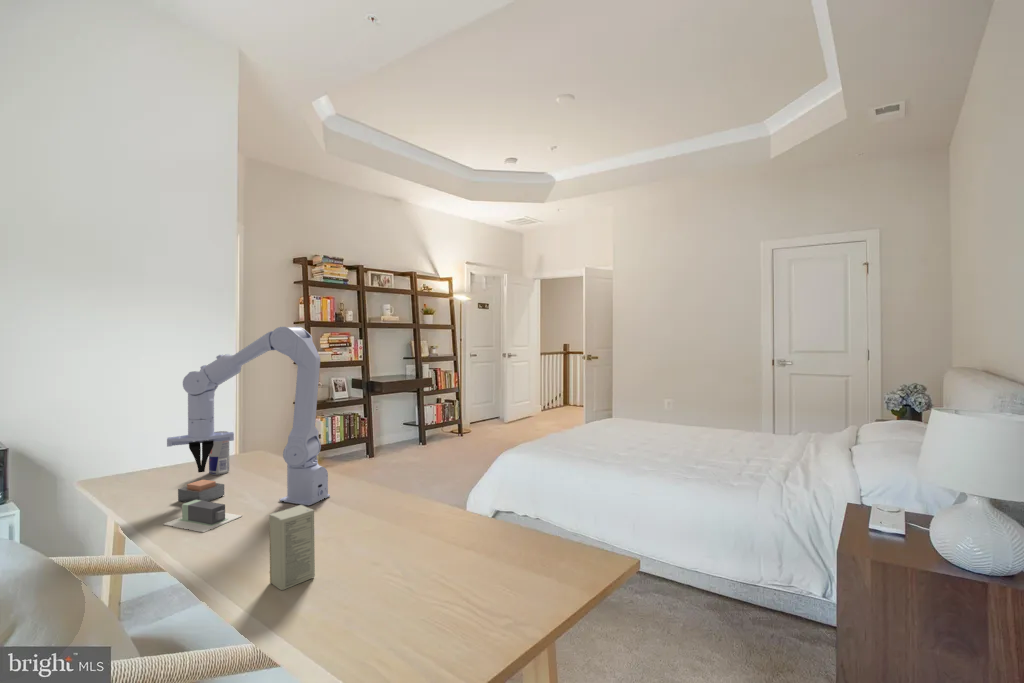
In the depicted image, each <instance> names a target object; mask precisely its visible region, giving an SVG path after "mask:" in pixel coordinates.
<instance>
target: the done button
mask: <svg viewBox="0 0 1024 683" xmlns="http://www.w3.org/2000/svg"><path fill="white" fill-rule="evenodd" d="M216 483H217V482H216V480H210V479H209V480H208V479H201V480H200V479H199V480H197V481H194V482H190V483H187V484H186V487H187V489H192V490H198V491H201V490H204V489H207V488H210V487H213V486H216Z"/></svg>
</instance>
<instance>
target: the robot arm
mask: <svg viewBox="0 0 1024 683" xmlns="http://www.w3.org/2000/svg"><path fill="white" fill-rule="evenodd" d="M269 351H271V352H272V351H277V352H278V353H281V354H282V355H285V356H287V357H288V358H289V359H290V360H292V362H294V364H296V365H297V371H296V374H297V375H296V382H295V383H296V386H295V397H294V409H293V410H294V411H293V418H292V419H293V422H292V428H291V430H290V432H289V435H288V437H287V443H286V446H284V449H283V452H282V457H283V460H284V462H285V463H286V465H287V467H286V468H287V469H286V474H287V475H286V476H287V477H286V479H287V482H286V483H287V484H286V486H287V487H286V488H287V490H286V494H287V495H286V496H283V497H281V498H279V502H282V501H284V502H283V503H289V504H296V505H304V506H311V505H314V504H316V503H318V502H321V501H322V499H323V500H325V499H327V498H329V497H331V496H330V495H331V494H330V493H329V472H328V470H327V468H326V467H324V466H322V465H320V464H319V463H318V458H317V456H318V455H319V453H320V452H321V449H322V445H321V442H320V438H319V430H318V428H317V427H316V418H317V408H318V407H317V405H318V397H319V396H318V394H319V381H320V371H321V370H320V368H321V356H320V354H319V351H318V350H317V347H316V346H315V344H314V342H313V336H312V335H311V333H309V331H308V330H306V329H305V328H303V327H301V326H288V327H287V326H279V327H276V328H275V329H273V330H270V331H268V332H266V333H265V334H263V335H262V336H260V337H259V338H256V340H254V341H253V342H252V343H250V344H248V345H247V346H245V347H243V348H242V349H241V350H239V351H238V352H236V353H235V354H233V355H232V354H230V353H226V354H218V355H216V357H215V360H213V361H212V362H210V363H209V364H204V365H201V366H200V370H199V371H198V370H195V371H189V372H188V373H187V374H186V375H185V376H184V377H183V379H182V387H183V389H184V391H185V392H186V393H187V434H186V435H178V436H173V437H171V436H170V437H166V447H173V446H182V445H188V448H189V450H190V452H191V454H192V456H193V458H194V461H195V463H196V467H197V473H204V472H206V464H207V462H208V460H209V454H210V452H211V450H212V448H213V446H214V443H213V442H217V441H228V440H229V442H230V441H231V442H233V441H234V440H235V437H234V436H235V433H234V431H230V432H229V431H227V432H224V433H214V432H215V392H216V390H217V389H218V387H219V385H221V384H223V383H225V382H226V381H228V380H230V379H231V378H233V377H235V376H237V375H238V374H241V370H242V367H243V365H246V364H247V363H249V362H251V361H253V360H254V359H256V358H259V357H260V356H262V355H264V354H266V353H268V352H269ZM324 498H325V499H324ZM320 500H321V501H320Z"/></svg>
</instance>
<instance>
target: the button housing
mask: <svg viewBox="0 0 1024 683" xmlns="http://www.w3.org/2000/svg"><path fill="white" fill-rule="evenodd" d="M223 495H224V496H225V484H224V483H217V482H216V486H213V487H210V488H207V489H204V490H201V491H198V490H192V489H187V486H184V487H181V488H178V489H177V501H178V502H183V503H187V502H190V501H193V500H201V501H207V502H211V501H214V500H216V498H217V499H219V497H220V498H222V497H224V496H223ZM221 496H222V497H221ZM213 499H214V500H213ZM210 500H211V501H210Z"/></svg>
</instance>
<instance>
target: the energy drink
mask: <svg viewBox="0 0 1024 683" xmlns="http://www.w3.org/2000/svg"><path fill="white" fill-rule="evenodd" d="M224 432H228V431H226V430H223V431H221V430H220V431H214V433H224ZM213 443H214V446H213V448H212V450H211V452H210V454H209V456H208V473H209V474H210V475H211V476H218V475H220V474H221V475H225V474H227V472H228V473H229V472H230V441H229V440H228V441H217V442H213Z"/></svg>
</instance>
